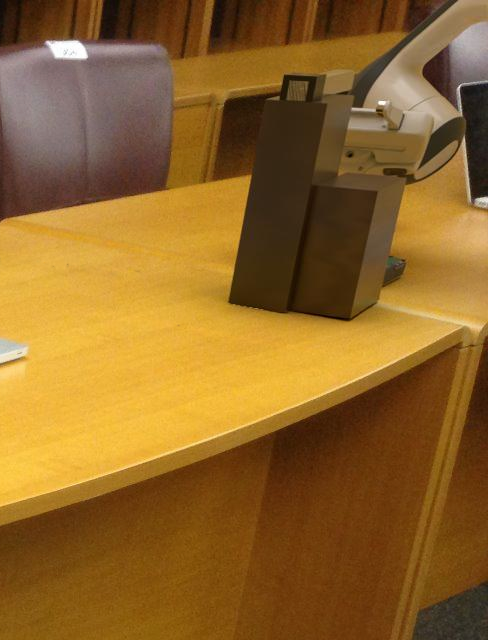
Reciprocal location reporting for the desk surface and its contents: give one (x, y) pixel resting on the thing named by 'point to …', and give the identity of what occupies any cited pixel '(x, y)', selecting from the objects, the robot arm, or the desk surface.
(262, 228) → the stepped stand
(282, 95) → the handle bar
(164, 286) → the desk surface
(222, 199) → the desk surface
